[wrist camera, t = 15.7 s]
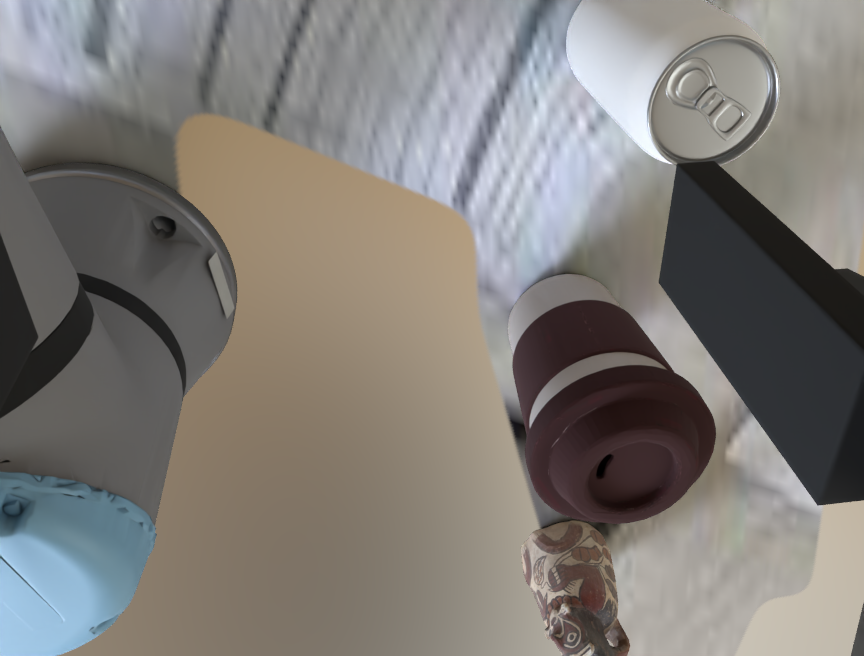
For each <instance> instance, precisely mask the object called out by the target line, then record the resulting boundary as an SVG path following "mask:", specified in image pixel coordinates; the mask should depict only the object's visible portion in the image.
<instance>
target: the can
mask: <svg viewBox="0 0 864 656" xmlns="http://www.w3.org/2000/svg"><path fill="white" fill-rule="evenodd" d="M566 51H567V57H568V61H569V64H570V67H571V69H572V71H573V73H574V75H575V76H576V78H577V79H578V80H579V82H580V83H581V84H582V85H583V86H584V88H585V89H586V90H587V91H588V92H589V93H590V94H591V95H592V97H593V98H594V99H595V100H596V101H597V102H598V103H599V104H600V105H601V106H602V107H603V109H604V110H605V111H606V112H607V113H608V114H609V115H610V116H611V117H612V118H613V119H614V121H615V122H616V123H617V124H618V125H619V126H620V127H621V128H622V129H623V130H624V131H625V132H626V133H627V134H628V136H629V137H630V138H631V139H632V140H633V141H634V142H635V143H636V144H637V145H638V146H639V147H640V148H641V149H642V150H644V151H645V152H646V153H648V154H649V155H650V156H652V157H654V158H656V159H658V160H660V161H662V162H665V163H669V164H674V165H676V166H677V163H691V162H704V161H715V162H716V163H717V164H718V165H719V166H722V165H725V164H727V163H729V162H731V161H733V160H735V159H737V158H738V157H740V156H741V155H743V154H744V153H746V152H747V151H748V150H749V149H750V148H752V147H753V146H754V145H755V144H756V143H757V142H758V140H759V139H760V138H761V137H762V136H763V134H764V133H765V132H766V130H767V129H768V127H769V125H770V123H771V122H772V120H773V117H774V115H775V113H776V110H777V107H778V103H779V98H780V76H779V71H778V68H777V65H776V63H775V61H774V59H773V57H772V56H771V55H770V53H769V52H768V49H767V47H766V45H765V43H764V42H763V40H762V39H761V37H760V36H759V35H758V34H757V33H756V32H755V31H754V30H753V29H752V28H751V27H750V26H748V25H747V24H746V23H744V22H742V21H741V20H739V19H737V18H736V17H734V16H732V15H730V14H728V13H726V12H725V11H723V10H721V9H719V8H717V7H715V6H713V5H711V4H709V3H707V2H706V1H704V0H582V1H581V2H580V4H579V5H578V7H577V9H576V11H575V13H574V15H573V17H572V19H571V21H570V24H569V27H568V32H567V38H566Z"/></svg>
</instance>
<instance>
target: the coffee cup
mask: <svg viewBox="0 0 864 656" xmlns="http://www.w3.org/2000/svg"><path fill="white" fill-rule="evenodd" d="M508 336H509V341H510V345H511V350H512V354H513V374H514V379H515V384H516V388H517V393H518V397H519V402H520V407H521V411H522V416H523V420H524V425H525V429H526V433H527V440H526V445H525V457H526V464H527V467H528V471H529V474H530V477H531V480H532V483H533V486H534V488H535V490H536V492H537V493H538V495H539V496H540V497H541V499H542V500H543V501H544V502H545V503H546V504H547V505H548V506H550V507H551V508H552V509H554V510H555V511H557V512H559V513H561V514H563V515H566V516H568V517H571V518H574V519H578V520H583V521H588V522H604V523H613V524H621V523H630V522H636V521H639V520H643V519H647V518H649V517H652V516H654V515H657V514H659V513H660V512H662V511H664V510H666V509H667V508H669V507H671V506H672V505H673V504H674V503H676V502H677V501H678V500H679V499H680V498H681V497H682V496H683V495H684V494H685V493H686V492H687V490H688V489H689V487H691V485H692V484H693V483H694V482H695V481H696V480H697V479H698V478H699V477H700V475H701V474H702V472H703V471H704V469H705V468H706V466H707V465H708V462H709V460H710V458H711V455H712V453H713V450H714V444H715V438H716V428H715V423H714V419H713V416H712V414H711V412H710V410H709V408H708V407H707V405H706V404H705V402H704V400H703V399H702V397H701V396H700V394H699V393H698V391H697V390H696V389H695V388H694V387H693V386H692V385H691V384H690V383H689V382H688V381H687V380H686V379H684V378H683V377H681V376H679V375H678V374H676V373H674V371H673V370H672V368H671V367H670V365H669V364H668V363H667V361H666V360H665V359H664V357H663V356H662V355H661V353H660V352H659V351H658V350H657V348H656V347H655V346H654V344H653V343H652V342H651V340H650V339H649V338H648V336H647V335H646V334H645V333H644V331H643V330H642V329H641V327H640V326H639V325H638V323H637V322H636V321H635V319H634V318H633V317H632V316H631V315H630V314H629V313H628V312H626V311H625V310H623V309H622V308H621V307H620V305H619V304H618V303H617V301H616V300H615V299H614V297H613V296H612V295H611V293H610V292H609V291H608V289H607V288H605V287H604V286H603V285H602V284H601V283H599V282H598V281H596V280H594V279H592V278H590V277H587V276H583V275H577V274H563V275H556V276H553V277H549V278H546V279H544V280H542V281H540V282H538V283H536V284H535V285H533V286H532V287H530V288H529V289H528V290H527V291H525V292H524V293H523V294H522V295H521V296H520V298H519V299H518V301H517V302H516V303H515V305H514V307H513V309H512V311H511V314H510V317H509V322H508Z"/></svg>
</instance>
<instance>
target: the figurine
mask: <svg viewBox="0 0 864 656" xmlns="http://www.w3.org/2000/svg"><path fill="white" fill-rule="evenodd" d="M521 551H522V556H521V558H522V564H523V573H524V576H525V579H526V582H527V584H528V585H529V587H530V589H531V590H532V592H533V594H534V596H535V599H536V601H537V604H538V606H539V609H540V612H541V615H542V617H543V620H544V623H545V625H546V627H547V628H546V629H545V636H546V637H547V638H548V639H550V638H551V639H552V640H553V641H554V642H555V644H556V646H557V647H558V649H559V650H560V652H561V654H562V656H627V654H628V651H629V648H630V644H629V639H628V637H627V636H626V634H625V632H624V630H623V628H622V627H621V625H620V623H619V621H618V619H617V612H618V598H617V589H616V580H615V575H614V570H613V564H612V559H611V554H610V551H609V548H608V546H607V544H606V542H605V540H604V538H603V536H602V535H601V533H600V532H599V531H597V530H596V529H595V528H594V527H592V526H591V525H589V524H588V523H585V522H582V521H576V520H571V521H568V522H561V523H557V524H554V525H551V526H549V527H547V528H543V529H539V530H536V531H534V532H533V533H532V534H531V535H530V537H529V538H528V539H527V540H526V542H524V543H523V545H522V546H521ZM607 639H609V640H610V641H611V642H612V643H613V645H614V647H612V646H610V645H609V643H608V641H607Z"/></svg>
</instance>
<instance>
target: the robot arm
mask: <svg viewBox="0 0 864 656" xmlns="http://www.w3.org/2000/svg"><path fill="white" fill-rule="evenodd" d="M659 284H660V285H661V286H662V288H663V289H664V291H665V292H666V293H667V295H668V296H669V298H670V299H671V300H672V302H673V303H674V305H675V306H676V308H677V309H678V310H679V312H680V313H681V315H682V316H683V317H684V319H685V320H686V322H687V323H688V324H689V326H690V327H691V329H692V330H693V331H694V333H695V334H696V336H697V337H698V338H699V340H700V341H701V343H702V344H703V345H704V347H705V348H706V350H707V351H708V352H709V354H710V355H711V357H712V358H713V359H714V361H715V362H716V364H717V365H718V366H719V368H720V369H721V371H722V372H723V373H724V375H725V376H726V378H727V379H728V380H729V382H730V383H731V385H732V386H733V387H734V389H735V390H736V392H737V393H738V394H739V396H740V397H741V399H742V400H743V401H744V403H745V404H746V406H747V407H748V408H749V410H750V411H751V413H752V414H753V415H754V417H755V418H756V420H757V421H758V422H759V424H760V425H761V427H762V428H763V429H764V431H765V432H766V434H767V435H768V436H769V438H770V439H771V441H772V442H773V443H774V445H775V446H776V448H777V449H778V450H779V452H780V453H781V455H782V456H783V457H784V459H785V460H786V462H787V463H788V464H789V466H790V467H791V469H792V470H793V471H794V473H795V474H796V476H797V477H798V478H799V480H800V481H801V483H802V484H803V485H804V487H805V488H806V490H807V491H808V492H809V494H810V495H811V497H812V498H813V499H814V501H815V502H816V504H817V505H826V504H834V503H843V502H852V501H861V500H864V276H861V275H859V274H857V273H855V272H853V271H851V270H849V269H834V268H832V267H831V266H830V265H829V264H828V263H827V262H826V261H825V260H824V259H822V258H821V257H820V256H819V255H818V254H817V253H816V252H815V251H814V250H812V249H811V248H810V247H809V246H808V245H807V244H806V243H805V242H804V241H802V240H801V239H800V238H799V237H798V236H797V235H796V234H795V233H794V232H793V231H791V230H790V229H789V228H788V227H787V226H786V225H785V224H784V223H783V222H781V221H780V220H779V219H778V218H777V217H776V216H775V215H774V214H773V213H771V212H770V211H769V210H768V209H767V208H766V207H765V206H764V205H763V204H761V203H760V202H759V201H758V200H757V199H756V198H755V197H754V196H753V195H751V194H750V193H749V192H748V191H747V190H746V189H745V188H744V187H743V186H741V185H740V184H739V183H738V182H737V181H736V180H735V179H734V178H733V177H731V176H730V175H729V174H728V173H727V172H726V171H725V170H724V169H723V168H721V167H720V166H719V165H718V164H717V163H716V162H715V161H704V162H691V163H677V167H676V174H675V180H674V187H673V193H672V200H671V206H670V213H669V219H668V226H667V232H666V239H665V245H664V252H663V258H662V265H661V271H660V278H659ZM236 303H237V281H236V275H235V270H234V266H233V263H232V260H231V257H230V254H229V252H228V250H227V248H226V246H225V244H224V242H223V240H222V239H221V237H220V235H219V234H218V232H217V231H216V229H215V228H214V227H213V225H212V224H211V223H210V222H209V221H208V219H207V218H206V217H205V216H204V215H203V214H202V213H201V212H200V211H199V210H198V209H197V208H196V207H195V206H194V205H193V204H191V203H190V202H189V201H188V200H186V199H185V198H184V197H182V196H181V195H180V194H178V193H177V192H175V191H174V190H172V189H170V188H169V187H167V186H165V185H163V184H161V183H160V182H158V181H156V180H154V179H151V178H149V177H147V176H144V175H142V174H139V173H136V172H133V171H130V170H127V169H123V168H119V167H115V166H109V165H103V164H93V163H67V164H57V165H52V166H47V167H42V168H39V169H36V170H32V171H29V172H27V173H25V174H24V172H23V170H22V168H21V166H20V164H19V162H18V160H17V158H16V156H15V154H14V152H13V150H12V148H11V146H10V144H9V142H8V140H7V138H6V137H5V135H4V133H3V131H2V129H1V127H0V656H57V655H60V654H63V653H66V652H68V651H70V650H73V649H75V648H77V647H80V646H82V645H84V644H85V643H87V642H88V641H91V640H93V639H94V638H95V637H97V636H98V635H100V634H101V633H103V632H104V631H105V630H106V629H108V628H109V627H110V626H111V625H112V624H113V623H114V622H115V621H116V620H117V618H118V616H119V615H120V614H121V613H123V611H124V609H126V607H127V606H128V605H129V603H130V602H131V600H132V598H133V595H134V594H135V591H136V588H137V585H138V583H139V580H140V578H141V575H142V572H143V570H144V567H145V564H146V561H147V559H148V556H149V555H150V553H151V552H152V549H153V548H154V543H155V538H156V535H157V534H156V533H155V530H156V528H155V522H156V518H157V513H158V509H159V504H160V500H161V495H162V491H163V487H164V482H165V478H166V473H167V469H168V464H169V460H170V455H171V450H172V447H173V442H174V437H175V433H176V428H177V424H178V419H179V415H180V411H181V406H182V401H183V397H184V396H185V395H186V393H187V392H188V391H189V390H190V389H191V388H192V386H193V385H194V384H195V383H196V382H197V380H198V379H199V378H200V377H201V376H202V375H203V374H204V373H205V372H206V371H207V370H208V369H209V368H210V367H211V366H212V364H213V363H214V362H215V361H216V360H217V358H218V357H219V355H220V354H221V352H222V351H223V349H224V347H225V345H226V343H227V341H228V339H229V336H230V333H231V330H232V325H233V321H234V315H235V309H236ZM851 656H864V604H863V608H862V612H861V616H860V620H859V625H858V628H857V633H856V637H855V641H854V645H853V649H852V653H851Z"/></svg>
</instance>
